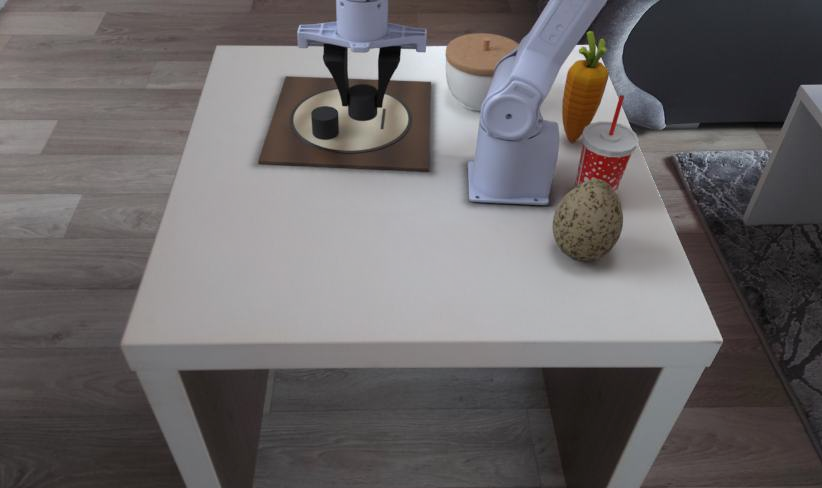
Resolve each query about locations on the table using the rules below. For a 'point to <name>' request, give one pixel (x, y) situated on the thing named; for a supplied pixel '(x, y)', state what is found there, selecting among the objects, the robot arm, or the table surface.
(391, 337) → the table surface
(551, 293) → the table surface
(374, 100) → the eye puck
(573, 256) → the decorative egg
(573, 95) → the carrot
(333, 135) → the eye puck
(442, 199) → the table surface
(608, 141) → the beverage cup
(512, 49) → the trinket box
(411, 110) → the face board
